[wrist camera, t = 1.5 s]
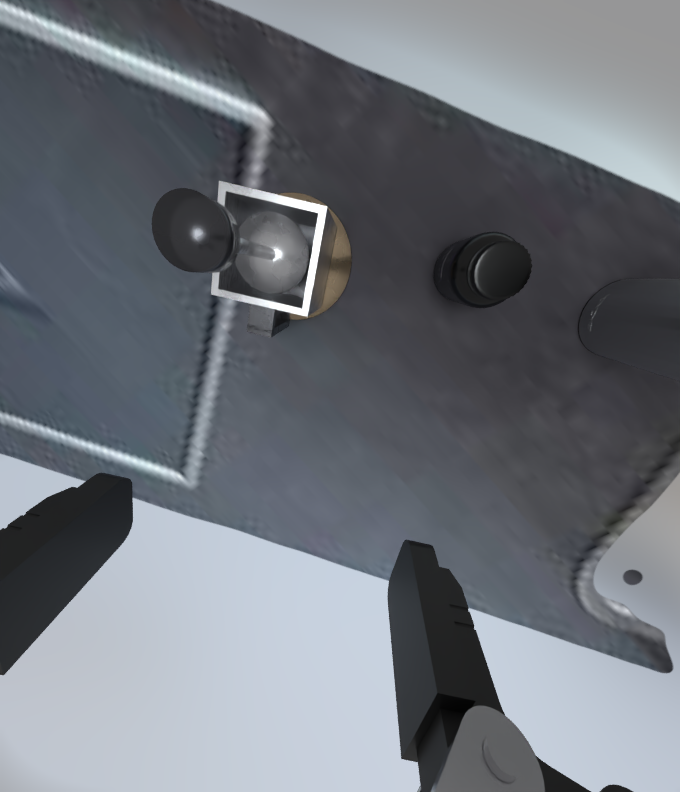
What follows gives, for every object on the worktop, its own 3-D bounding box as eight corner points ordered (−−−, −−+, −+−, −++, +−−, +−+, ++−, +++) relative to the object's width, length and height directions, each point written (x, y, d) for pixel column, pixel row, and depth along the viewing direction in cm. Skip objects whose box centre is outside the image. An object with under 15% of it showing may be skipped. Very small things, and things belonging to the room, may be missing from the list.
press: (363, 209, 36) (364, 178, 25) (337, 333, 41) (327, 353, 30) (244, 181, 36) (190, 136, 25) (232, 308, 41) (182, 319, 30)
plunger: (315, 222, 28) (267, 165, 14) (302, 300, 31) (249, 318, 16) (240, 205, 28) (116, 129, 14) (233, 284, 31) (120, 288, 16)
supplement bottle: (426, 253, 37) (453, 242, 26) (485, 231, 36) (540, 210, 25) (439, 310, 39) (470, 322, 28) (495, 291, 38) (551, 296, 27)
